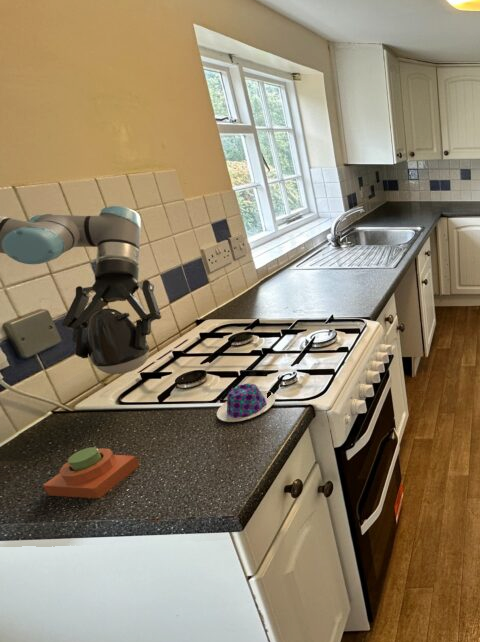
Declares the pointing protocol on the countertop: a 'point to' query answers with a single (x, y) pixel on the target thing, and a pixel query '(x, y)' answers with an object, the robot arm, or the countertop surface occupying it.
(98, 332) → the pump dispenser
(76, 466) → the button
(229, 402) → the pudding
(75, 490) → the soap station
